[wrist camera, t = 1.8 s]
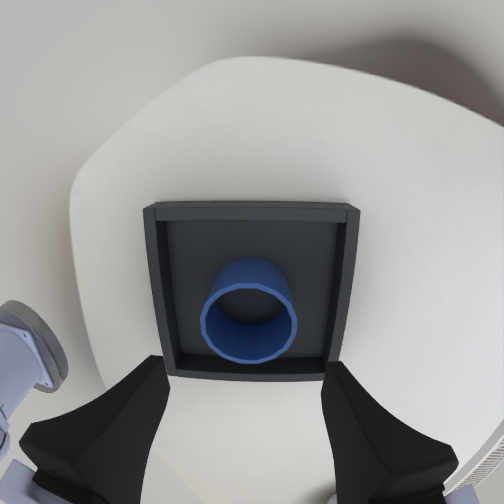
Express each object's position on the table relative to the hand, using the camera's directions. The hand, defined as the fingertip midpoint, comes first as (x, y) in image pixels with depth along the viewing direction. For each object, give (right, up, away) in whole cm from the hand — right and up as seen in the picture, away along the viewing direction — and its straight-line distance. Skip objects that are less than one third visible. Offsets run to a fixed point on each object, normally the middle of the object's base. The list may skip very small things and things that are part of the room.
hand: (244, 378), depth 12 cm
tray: (0, +3, +8) cm, 9 cm away
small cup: (0, +3, +8) cm, 9 cm away
